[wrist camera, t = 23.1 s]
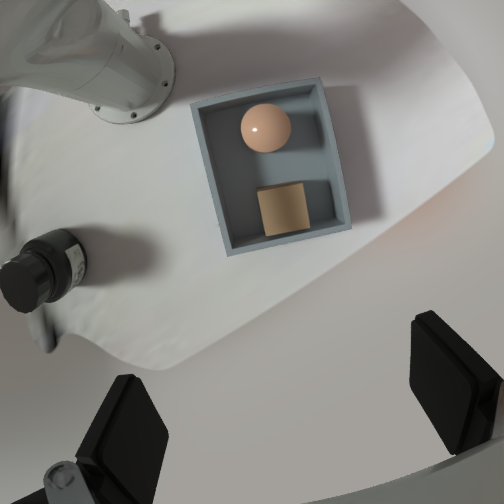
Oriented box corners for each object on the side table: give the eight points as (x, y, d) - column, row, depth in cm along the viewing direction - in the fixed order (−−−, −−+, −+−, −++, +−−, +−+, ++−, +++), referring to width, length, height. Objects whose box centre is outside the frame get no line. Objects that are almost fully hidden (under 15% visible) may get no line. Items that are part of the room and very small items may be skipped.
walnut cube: (263, 227, 41) (265, 236, 36) (256, 188, 39) (257, 191, 35) (303, 219, 41) (310, 227, 36) (296, 180, 39) (302, 183, 34)
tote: (197, 111, 37) (189, 104, 32) (310, 87, 37) (320, 77, 31) (230, 244, 42) (227, 256, 37) (339, 219, 41) (352, 228, 36)
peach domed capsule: (238, 118, 37) (235, 109, 30) (278, 109, 37) (284, 99, 30) (247, 157, 38) (247, 156, 32) (287, 148, 38) (295, 146, 31)
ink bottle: (74, 299, 44) (34, 336, 33) (34, 266, 43) (-13, 294, 31) (98, 248, 42) (55, 278, 30) (54, 214, 41) (3, 233, 29)
